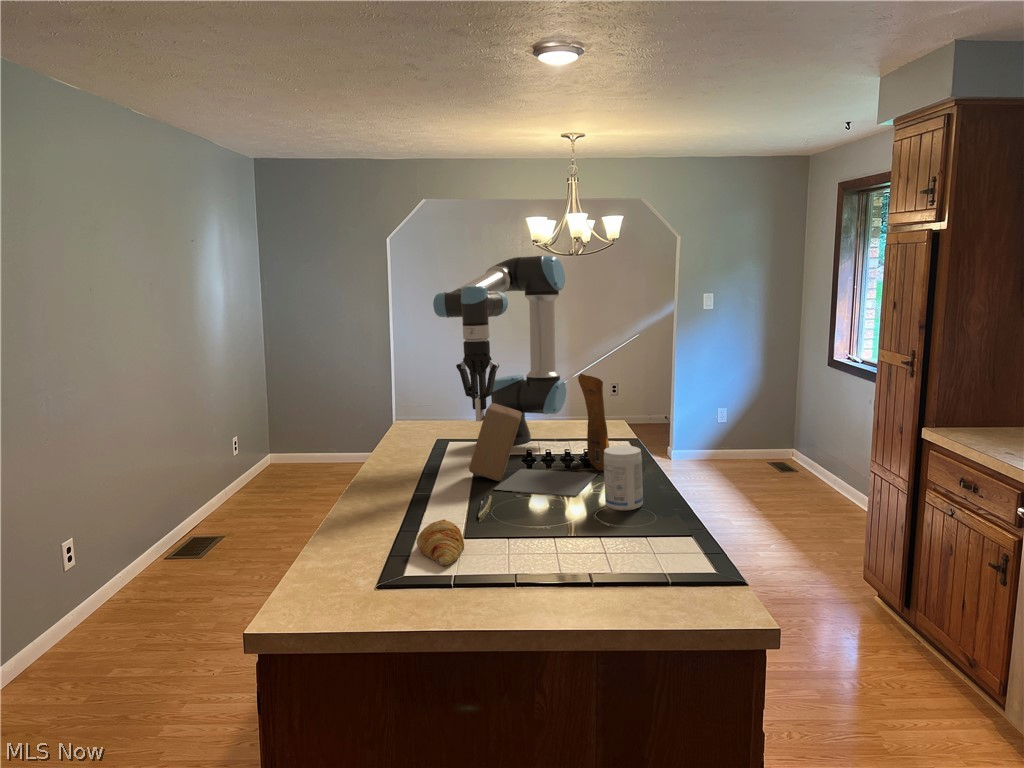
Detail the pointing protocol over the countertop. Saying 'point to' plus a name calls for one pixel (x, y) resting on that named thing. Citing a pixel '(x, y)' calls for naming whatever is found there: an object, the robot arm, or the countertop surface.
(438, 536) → the croissant
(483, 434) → the wooden block
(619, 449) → the supplement tub
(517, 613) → the countertop surface
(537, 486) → the mat
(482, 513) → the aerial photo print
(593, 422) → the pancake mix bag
